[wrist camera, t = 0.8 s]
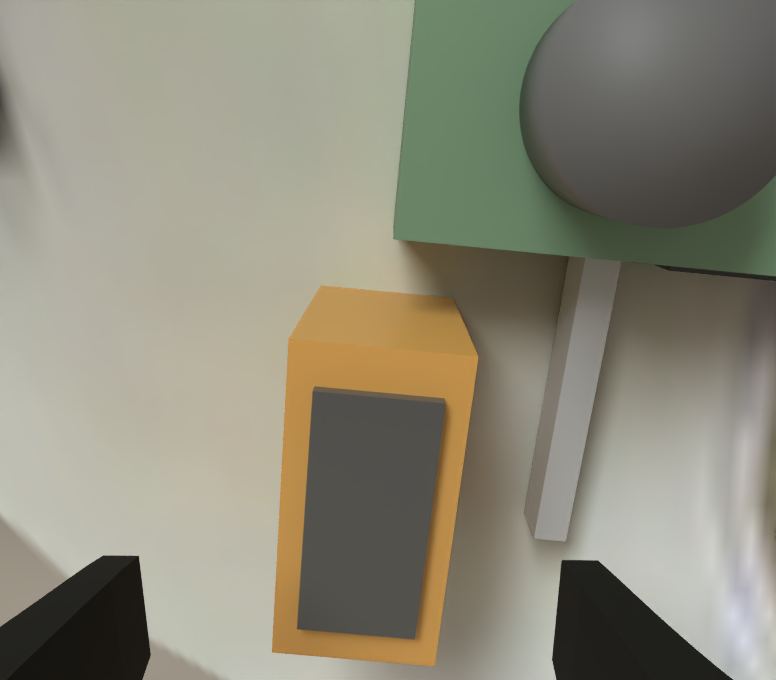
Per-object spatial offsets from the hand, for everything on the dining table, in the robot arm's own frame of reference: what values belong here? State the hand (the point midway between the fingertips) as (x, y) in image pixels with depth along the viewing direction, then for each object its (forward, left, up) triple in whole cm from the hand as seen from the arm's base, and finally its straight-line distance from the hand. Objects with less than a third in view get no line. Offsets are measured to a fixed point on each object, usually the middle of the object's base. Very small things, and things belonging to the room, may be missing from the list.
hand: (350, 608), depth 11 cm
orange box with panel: (0, 0, -10) cm, 10 cm away
